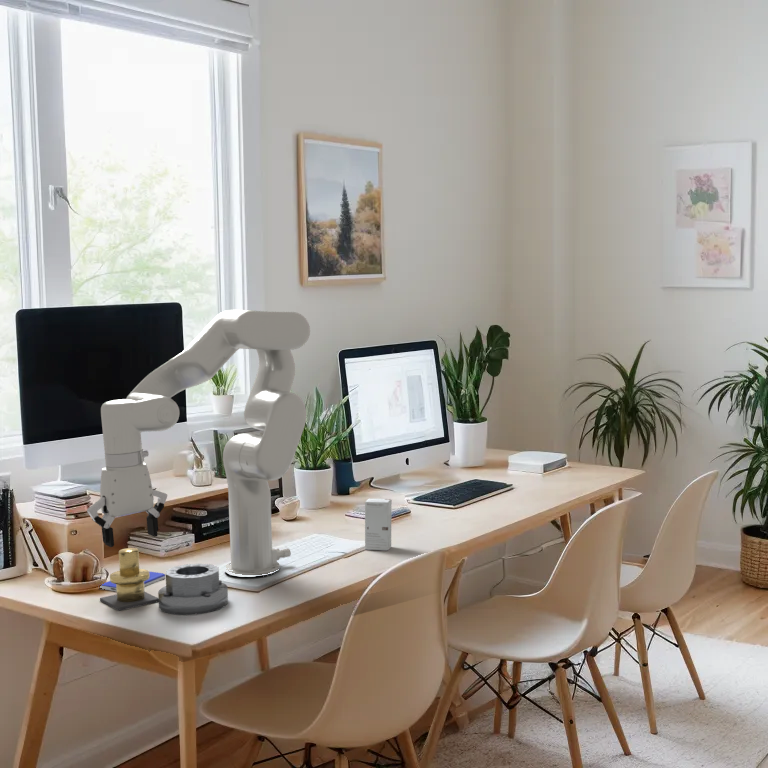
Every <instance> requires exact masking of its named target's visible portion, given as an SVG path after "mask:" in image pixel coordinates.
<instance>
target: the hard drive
mask: <svg viewBox="0 0 768 768" xmlns="http://www.w3.org/2000/svg"><path fill="white" fill-rule="evenodd" d="M148 571H149V574H150V578H149V579H148V580H146V581H144V587H146V586H149V585H152V584H154V583H157V582H159V581H161V580H164V579H166V573H162V572H157V571H155V572H154V571H150V570H148ZM101 584H102V585H101ZM101 584H100V585H101V586H100V588H102V589H101V590H104V589H105V591H111V592H117V589H116V584H114V583H111V582H110V580H109V581H106V582H104V584H103V583H101Z"/></svg>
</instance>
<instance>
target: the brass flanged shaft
mask: <svg viewBox="0 0 768 768" xmlns="http://www.w3.org/2000/svg"><path fill="white" fill-rule="evenodd" d="M139 553H140V552H139V548H136V547H135V548H134V547H128V548H122V549H120V550H119V551H118V565H119V570H116V571H114V572H112V573H111V574H110V575H109V581H110V582H111V583H114V584H116V589H117V591H116V594H117V600H118V601H120V602H135V601H139V600H142V599H143V598H144V597H145V594H144V592H145V586H144V581H146V580H148V579H149V578H150V574H149V571H150V570H148V569H144V568H140V556H139Z"/></svg>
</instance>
